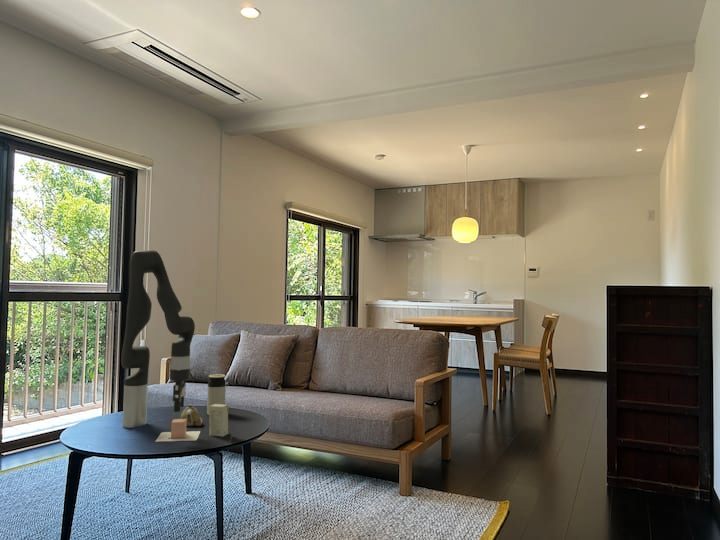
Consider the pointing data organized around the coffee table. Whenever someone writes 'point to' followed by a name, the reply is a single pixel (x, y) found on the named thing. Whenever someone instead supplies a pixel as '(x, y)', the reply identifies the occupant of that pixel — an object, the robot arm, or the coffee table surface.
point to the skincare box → (218, 420)
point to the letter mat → (167, 437)
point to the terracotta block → (178, 428)
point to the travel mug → (216, 390)
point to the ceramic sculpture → (191, 416)
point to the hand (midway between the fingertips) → (178, 409)
